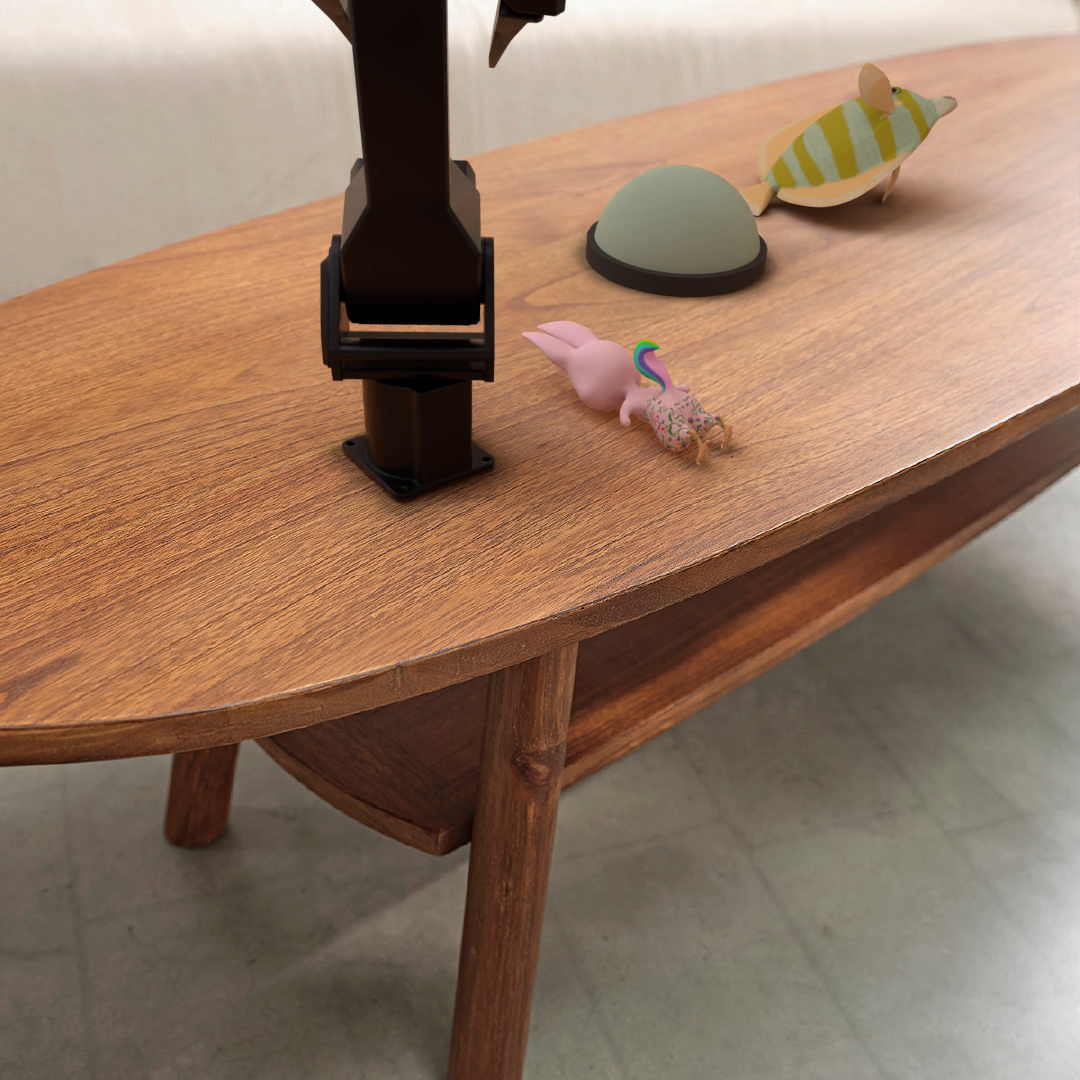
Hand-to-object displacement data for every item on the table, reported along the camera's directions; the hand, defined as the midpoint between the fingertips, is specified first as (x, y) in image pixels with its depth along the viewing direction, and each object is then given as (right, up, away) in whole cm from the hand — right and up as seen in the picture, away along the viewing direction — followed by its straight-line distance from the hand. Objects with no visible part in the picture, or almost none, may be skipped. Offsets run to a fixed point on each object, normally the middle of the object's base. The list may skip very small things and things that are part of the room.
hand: (427, 56), depth 79 cm
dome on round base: (+18, -17, +13) cm, 28 cm away
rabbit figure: (+13, -26, -10) cm, 31 cm away
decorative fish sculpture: (+34, -4, +22) cm, 40 cm away
